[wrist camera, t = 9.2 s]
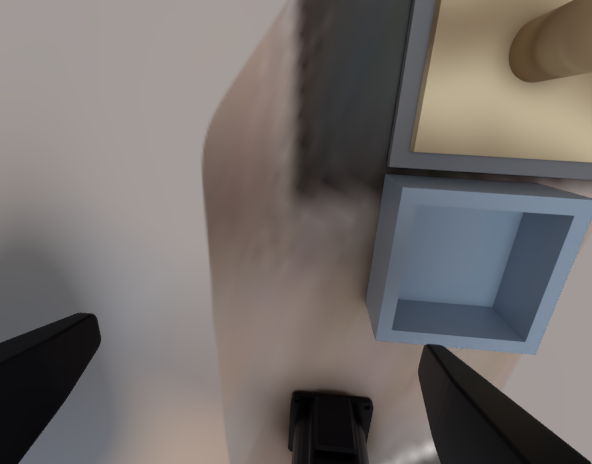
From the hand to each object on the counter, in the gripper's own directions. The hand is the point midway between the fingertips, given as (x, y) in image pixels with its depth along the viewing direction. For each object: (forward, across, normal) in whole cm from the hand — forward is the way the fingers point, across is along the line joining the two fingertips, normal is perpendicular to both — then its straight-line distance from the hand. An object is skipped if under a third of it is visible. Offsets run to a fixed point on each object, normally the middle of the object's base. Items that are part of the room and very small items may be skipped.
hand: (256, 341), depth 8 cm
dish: (+12, -10, +2) cm, 16 cm away
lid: (+11, -12, -9) cm, 19 cm away
